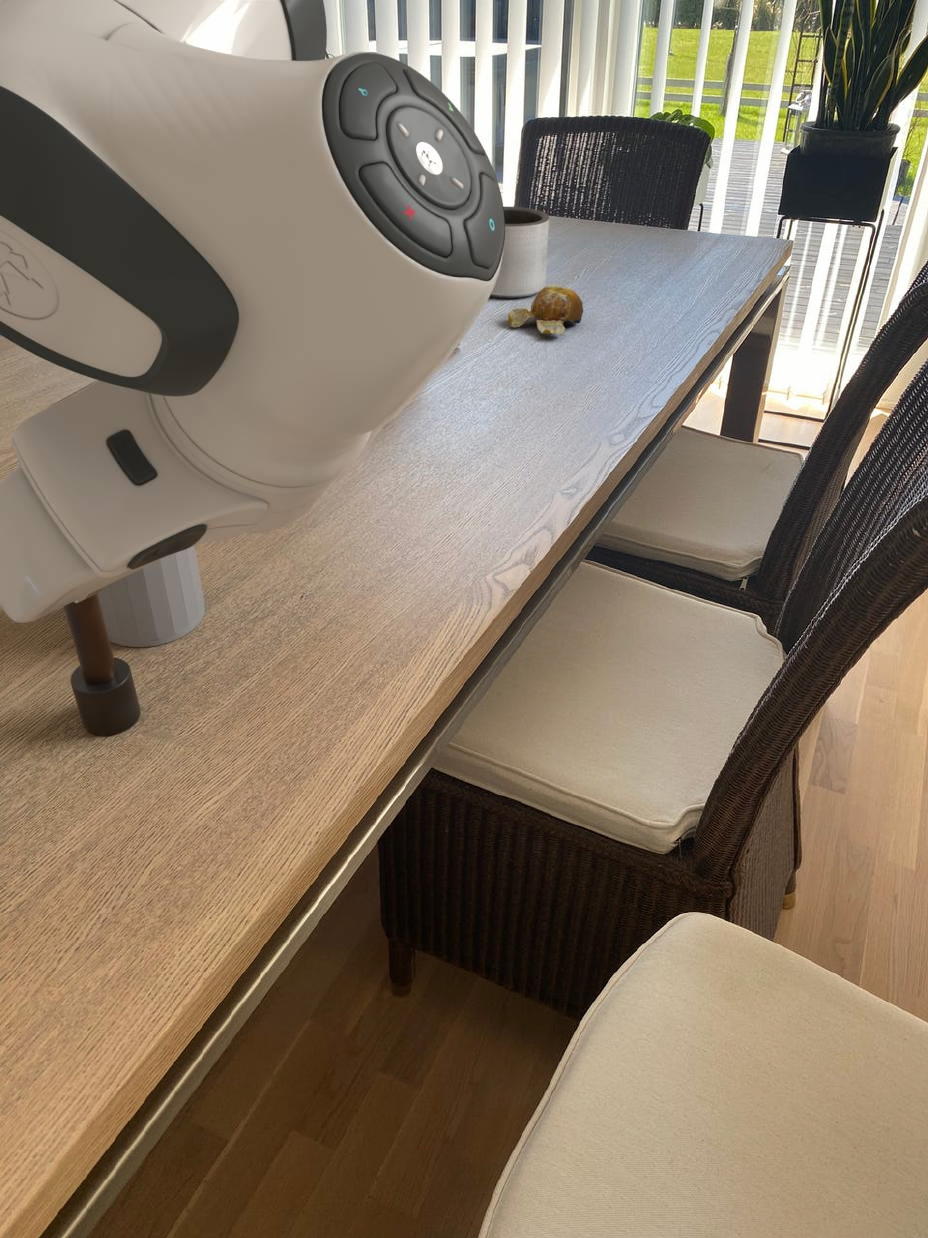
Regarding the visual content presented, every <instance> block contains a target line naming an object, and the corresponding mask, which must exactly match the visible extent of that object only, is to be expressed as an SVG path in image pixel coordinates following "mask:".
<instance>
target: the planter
mask: <svg viewBox="0 0 928 1238" xmlns="http://www.w3.org/2000/svg"><path fill="white" fill-rule="evenodd" d="M503 208H504V217H505V240H504V250H503V257H502V262H501V267H500V271H499V275H498V277H497V280H496V283H495V286H494V288H493V290H492V292H491V294H490V297H491V298H497V299H520V298H521V299H522V298H527V297H531V296H535V295H538V293H539V292H540V291H541V290H542V289H543V288H545V287H546V283H547V269H548V268H547V267H548V246H549V230H550V216H549V214H547V213H545V212H543V211H541V210H538V209H534V208H529V207H522V206H503Z"/></svg>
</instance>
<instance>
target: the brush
mask: <svg viewBox="0 0 928 1238" xmlns="http://www.w3.org/2000/svg"><path fill="white" fill-rule="evenodd" d="M63 609H64V612H65V616H66V619H67V623H68V627H69V630H70V635H71V637H72V641H73V644H74V648H75V651H76V656H77V658H78V662H79V666H78V667H76V668H75V670H74V671H73V672H72V674H71V675H70V681H69V683H70V685H71V689H72V693H73V696H74V699H75V703H76V706H77V708H78V714H79V716H80V719H81V723H82V726H83V728H84V729H85V731H87V732H88V733H90V734H91V735H95V736H101V737H106V736H107V737H108V736H114V735H119V734H121V733H123V732H125V731H127V730H129V729H131V728H132V727H133V726H135V724H136V723H138V720H139V719H140V717H141V707H140V701H139V698H138V694H137V690H136V689H137V688H136V686H135V682H134V677H133V673H132V669H131V666H130V664H128V662H127V661H125V660H123V659H122V658H118V657H114V654H113V650H112V649H113V648H112V645H111V642H110V641H109V637H108V634H107V630H106V626H105V622H104V618H103V614H102V610H101V606H100V602H99V598H98V594H95V595H93V596H91V597H89V598H87V599H85V600H83V601H81V602H79V603H75V602H72V603H69V604H67V605H65V606H63Z"/></svg>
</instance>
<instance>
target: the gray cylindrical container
mask: <svg viewBox="0 0 928 1238" xmlns="http://www.w3.org/2000/svg"><path fill="white" fill-rule="evenodd" d="M203 592H204V591H203V587H202V581H201V574H200V569H199V564H198V558H197V552H196V547H195V546H192V547H190V548H188V549H186V550H183V551H180V552H177V553H174V554H171V555H169V556H167V557H165V558H163V559H161V560H159V561H156V562H154V563H152V564H150V565H148V566H146V567H144V568H142V569H140V570H138V571H136V572H134V573H132V574H130V575H127V576H125V577H123V578H121V579H119V580H117V581H115V582H113V583H111V584H109V585H107V586H105V587H103V590H102V591H101V592H99V593H97V594H98V598H99V602H100V606H101V610H102V614H103V618H104V622H105V626H106V630H107V634H108V637H109V641H110V643H113V644H115V645H117V646H122V647H128V648H129V647H130V648H149V647H156V646H161V645H166V644H168V643H171V642H175V641H177V640H179V639H182V638H183V637H185V636H187V635H188V634H189V633H191V632H192V631H194V630H195V629H196V628H197V627H198V626H199V625H200V623H201V622H202V620H203V619H204V616H205V613H206V606H205V598H204V593H203Z"/></svg>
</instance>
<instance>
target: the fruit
mask: <svg viewBox="0 0 928 1238" xmlns="http://www.w3.org/2000/svg"><path fill="white" fill-rule="evenodd" d="M583 305H584V304H583V301H582V299H581V297H580V296H579V294H577V292H576V291H574V290H573V289H570V288H566V287H562V286H545V287H544V288H543V289H542V290H541V291H540V292H538V293H537V294H536V296H535V297H534V299H533V301H532V302H531V305H530V310H528V309H527V308H522V307H518V308H514V309H512V310H510V311H509V312H508V313H507V314H508V324H509V326H510V327H511V328H520V326H522V325H525V322H526V321H527V320H528V319H529V318H531V317H532V318H534V319H535V320H536V328H537V330H539V333H540V334H545V335H552V336H554V335H563V334H564V333H566V328H565V326H564V322H566V321H571V322H573V323H575V324H580V323H581V321H582V317H583V314H584V307H583Z"/></svg>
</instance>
